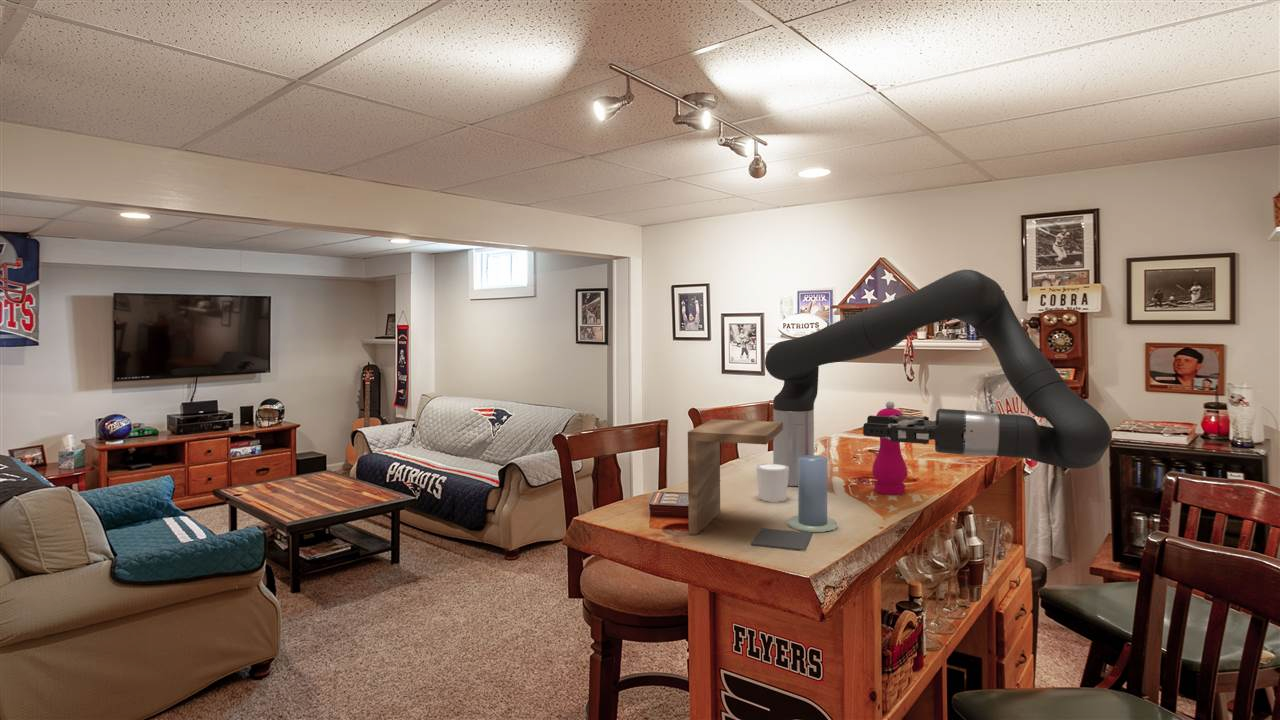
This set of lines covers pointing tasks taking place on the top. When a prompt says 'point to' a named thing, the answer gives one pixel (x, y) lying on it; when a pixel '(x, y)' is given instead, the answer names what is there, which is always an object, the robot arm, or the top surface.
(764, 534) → the drip mat
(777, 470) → the white cup
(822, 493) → the blue pillar candle
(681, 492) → the top surface
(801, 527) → the coaster
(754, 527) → the top surface
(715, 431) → the shelf
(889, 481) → the pepper mill
